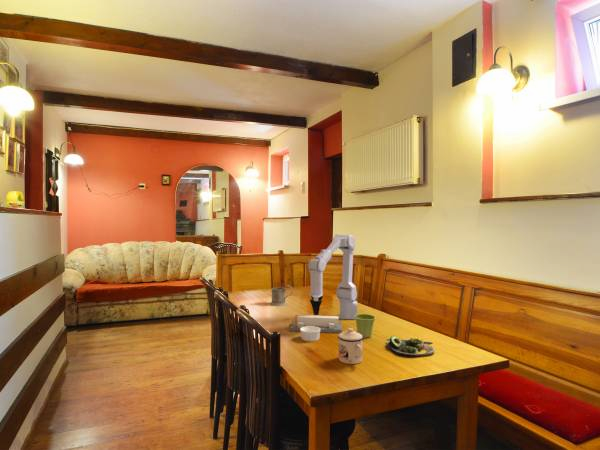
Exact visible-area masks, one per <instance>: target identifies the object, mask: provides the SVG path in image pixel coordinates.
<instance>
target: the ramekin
mask: <svg viewBox="0 0 600 450" xmlns="http://www.w3.org/2000/svg"><path fill="white" fill-rule="evenodd" d="M300 331H301V332H300V339H301V340H302V341H304V342H305V341H306V342H316V341H318V340H319V339H320V334H321V332H320V328H319V327H315V326H305V327H302V328H300Z"/></svg>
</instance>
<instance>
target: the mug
mask: <svg viewBox="0 0 600 450" xmlns="http://www.w3.org/2000/svg"><path fill="white" fill-rule="evenodd" d="M287 288H290V289H291V293H290V294H288V295H286V292H287ZM293 292H294V290H293V287H292V286H291V285H289V284H287V285H286V287H280V286H278V287H271V303H270V304H269V306H273V307H283V306H286V305H287V303H286V298H288V297H289V296H292V294H294V293H293Z"/></svg>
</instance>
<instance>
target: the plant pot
mask: <svg viewBox="0 0 600 450" xmlns="http://www.w3.org/2000/svg"><path fill="white" fill-rule="evenodd" d="M354 317H355V319H354V320H355V324H356V332H357V333H359V334H361V335H362V336H363V339H367V338H372V335H373V328H374V327H373V326H374V322H375V320H376V318H377V317H376V316H375V315H373V314H370V313H369V314H368V313H358V314H357V315H355V316H354Z"/></svg>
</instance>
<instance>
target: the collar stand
mask: <svg viewBox="0 0 600 450" xmlns="http://www.w3.org/2000/svg"><path fill="white" fill-rule="evenodd" d="M342 325H343V324H342V322H339V323H338V327H334V323H329V327H323V326H315V327H319V328H320V333H326V334H327V333H330V334H331V333H333V334H340V333H342V332H343V328H342V327H343V326H342ZM302 327H305V326H303V322H298V326H294V320H292V322H291V324H290V326H289V332H293V331H294V332H297V333H299V332H300V333H301V331H300V328H302Z"/></svg>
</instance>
